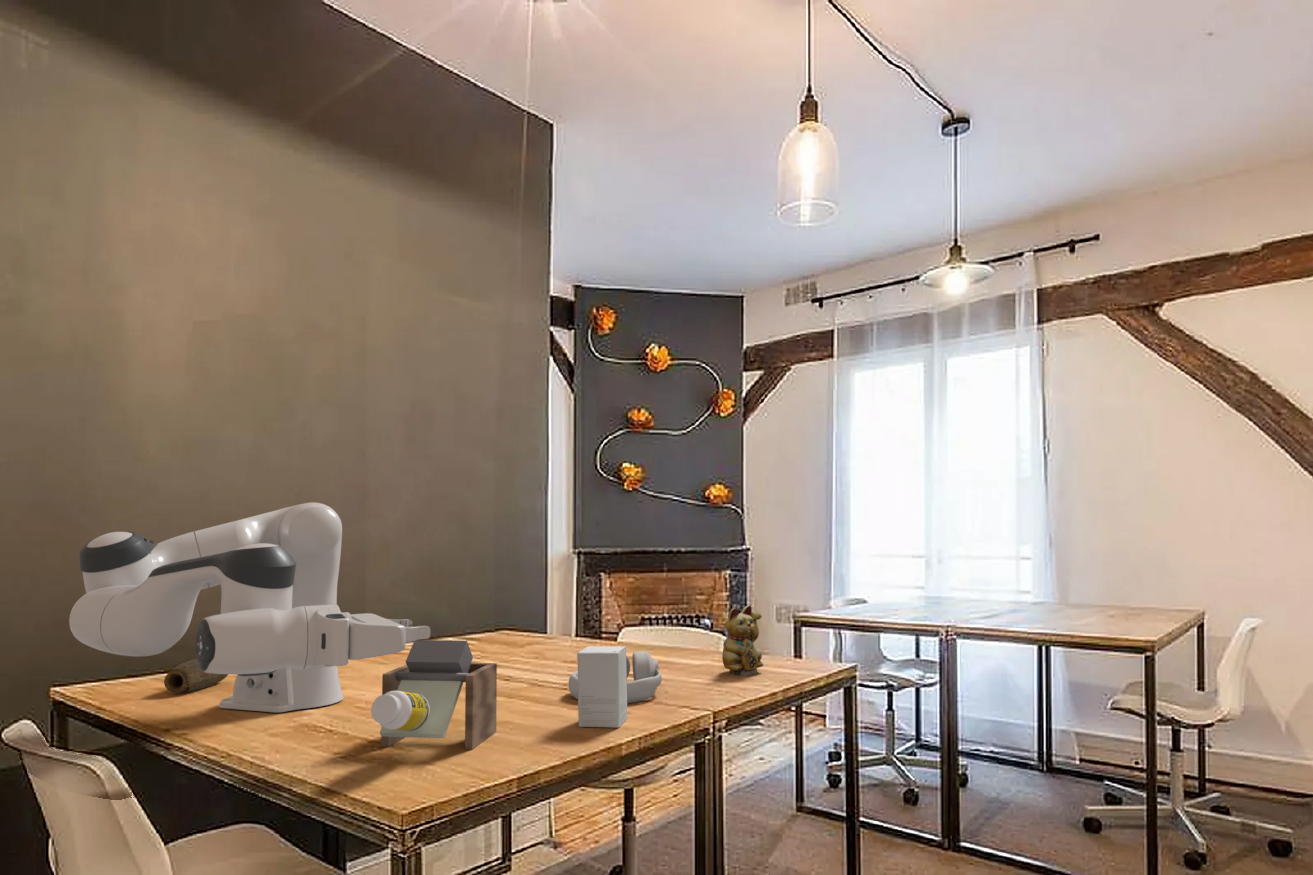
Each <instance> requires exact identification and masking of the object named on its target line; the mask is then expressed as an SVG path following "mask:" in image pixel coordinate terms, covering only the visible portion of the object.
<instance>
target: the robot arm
mask: <svg viewBox="0 0 1313 875" xmlns="http://www.w3.org/2000/svg"><path fill="white" fill-rule="evenodd" d="M342 538H343V524H342V520H341V518H340V516H339V514H338V513H337V512H336V511H335V510H334V509H333V508H332V507H330V506H328V504H327V505H326V504H324V503H320V502H305V503H300V504H296V505H292V506H288V507H283V508H279V509H277V510H272V511H268V512H264V513H261V514H260V513H259V514H256V515H254V516H249V517H244V518H241V519H237V520H234V521H230V522H227V523H221V524H218V525H214V526H210V527H206V528H202V529H199V530H194V531H191V532H186V533H184V534H181V535H177V536H174V537H171V538H168V539H165V540H163V541H161V542H159V543H157V542H156V541H155V540H149V539H147V537H146V536H144V535H142V534H140V533H137V532H135V531H129V530H128V531H127V530H126V531H112V532H108V533H105V534H102V535H100V536H98V537H95V538H94V539H91V540H90V541H88V542H87V543H85V544H84V545H83V547H82V548H81V549H80V550H79V554H78V565H79V571H81V572H82V577H83V583H84V584H83V585H84V589H85V594H83V595H82V596H81V597H80V598H78V600H77V601H76V602H75V604H74V605H73V607H72V609H71V610H70V614H69V619H68V621H69V622H68V623H69V629H70V631H71V633H72V635H73V637H74V638H75V639H76V640H77V641H79V642H80V643H82V644H83V645H86V646H87V647H90V648H92V649H95V650H98V651H101V652H105V653H108V654H113V655H116V656H117V655H118V656H121V657H126V658H127V657H148V656H156V655H159V654H162V653H164V652H166V651H167V650H169V649H171V648H172V647H173V646H174V645H176V644H177V643H178V642H179V641H180V640H181V639H182V637H184V635H185V634H186V632H187V630H188V628H189V627H190V624H191V622H192V618H193V614H194V609H195V606H196V603H197V599H198V596H199V594H200V591H202V590H206V589H209V588H213V587H216V586H220V587H221V588H220V589H221V601H220V603H221V604H220V614H219V613H218V614H213V615H210V616H206V617H204V618H202V619H201V621H199V622H200V623H199V624H198V626H197V627H198V628H197V631H196V634H195V655H196V658H197V662H198V665H199V667H200V668H201V670H202V671H203V672H205V673H213V674H228V675H236V678H235V681H234V684H233V685H234V686H233V689H232V695H230V696H227V697H226V698H223V699H221V701H220V702H219V707H218V708H220V709H232V710H241V711H251V712H253V711H255V712H265V713H284V712H289V711H290V712H291V711H297V710H302V709H303V710H305V709H311V708H317V707H319V708H320V707H323V706H329V705H333V704H336V703H338V702H341V701H342V700H344V694H343V691H342V688H341V683H340V677H339V669H338V668H339V667H341V666H347V665H348V664H349V661H355V660H356V661H357V660H359V661H360V660H365V659H369V658H376V657H377V658H378V657H383V656H388V655H389V656H390V655H393V654H398V653H400V652H404V651H405V648H406V643H407V644H408V643H413V642H414V641H416V640H428V639H430V637H431V627H430V626H427V625H416V626H413V620H411V619H409V618H408V619H407V618H405V619H395V618H392V619H391V618H385V617H382V616H380V615H378V614H375V613H371V612H370V613H369V612H367V613H366V612H365V613H353V614H351V613H350V612H348V611H346V612H345V611H344V612H342V611H341V608H340V607H339V605H338V604H337V603H338V602H337V600H338V582H339V574H340V566H341V565H340V564H341V553H342V552H341V551H342V543H343V542H342V541H343V540H342Z"/></svg>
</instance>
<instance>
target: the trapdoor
mask: <svg viewBox="0 0 1313 875" xmlns="http://www.w3.org/2000/svg"><path fill="white" fill-rule="evenodd" d="M472 661H473V654H472V650H471V649H470V646H469V642H468V641H467V640H437V639H436V640H432V639H429V640H428V639H420V640H416V641H413V642H412V646H411V648H410V650H409V653H408V655H407V657H406V660H405V665H407V666H408V669H409V671H410V672H397V673H396V681H401V682H400V685H399V687H398V689H397V691H404V692H411V693H417V694H420V695H422V696H424V697H425V698H426V700H427V701H428V703H429V707H430V713H429V717H428V719H427V721H426V722H425V724H424V725H423V726H422V727H420V728H419V729H416V730H410V731H408V730H390V729H386V728H384V727H382V726H381V728H380V730H379V734H380V736H383V737H405V738H422V739H423V738H424V739H427V738H428V739H445V738H446V735H447V733H448V732H447V731H448V729H449V726H450V723H451V720H452V717H453V714H454V712H455V708H456V706H457V703H458V700H459V697H460V694H461V691H462V689H463V686H464V683H466V675H468V674H469V673H468V670H469V668H470V665H471V663H473V662H472Z"/></svg>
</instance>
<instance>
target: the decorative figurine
mask: <svg viewBox="0 0 1313 875" xmlns="http://www.w3.org/2000/svg"><path fill="white" fill-rule="evenodd" d="M761 618H763V615H762V614H761V613H760V612H759V611H752V606H750V605H747V606H744V607H743V609H742V610H741V612H740V613H739V609H738V608H735V607H734V608H732V609H731V610H730V611H729V613H728V618H727V619H726V620H725V630H726V631H727V632H726V633H727V637H726V639H724V641H723V647H722V648H723V649H722V655H721V658H722V664H723V667H724V668H725V669H727V670H729V673H731V674H734V675H737V676H750V675H756V674H758V668H762V667H764V663H763V662H762V661H761V660H762V658H763V653H762V650H761V649H759V648H757V647H756V646H755V644H754V643H755V642H756V640H758V638H759V635H760V629H759V625H758V620H760V619H761Z"/></svg>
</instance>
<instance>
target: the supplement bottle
mask: <svg viewBox="0 0 1313 875" xmlns="http://www.w3.org/2000/svg"><path fill="white" fill-rule="evenodd" d="M370 713H371V714H370V715H371V717H372V719H373V720H374V721H375V723H378V724H379V725H380V726H381V728H382V727H384V728H386V729H390V730H408V731H410V730H416V729H419V728H420V727H422V726H423V725H424V724H425V722H426V721H427V719H428V717H429V713H430V707H429V703H428V701H427V700H426V698H425V697H424V696H422V695H420V694H417V693H411V692H404V691H390V692H388V693H386V694H384V695H382V694H381V695H379V696H378V697H376V698H375V699H374V701H373V702H372V704H371V709H370Z"/></svg>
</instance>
